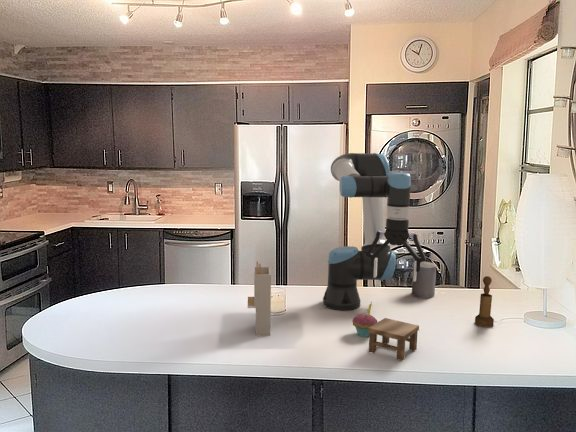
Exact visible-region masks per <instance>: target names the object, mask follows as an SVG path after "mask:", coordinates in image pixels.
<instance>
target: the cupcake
mask: <svg viewBox="0 0 576 432" xmlns="http://www.w3.org/2000/svg"><path fill="white" fill-rule="evenodd" d="M372 302H373V301H371V302H370V303H369V305H368V310H367V313H361V314H357V315H356V316H354V317H353V318H352V322H351V323H352V326H354V327H355V329H356V334H357V335H358V336H359V337H365V338H369V332H368V328H369V327H371V326H372V325H374V324H376V323H377V322H378V320H377V318H375V317H374V315H371V309H372Z"/></svg>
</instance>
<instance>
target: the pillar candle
mask: <svg viewBox="0 0 576 432" xmlns="http://www.w3.org/2000/svg"><path fill="white" fill-rule="evenodd" d="M412 267H413V269H412V277H413V276H414V265H413V266H412ZM436 277H437V264H436V263H433V262H431V261H423V262H421V263H420V271H419V272H417V274H416V281H415V282H414V281H413V280H412V281H411V282H412V284H411V285H412V287H411V296H414V297H415V298H421V299H431V298H434V296H435V293H436V291H435V290H436V280H437V279H436Z"/></svg>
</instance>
